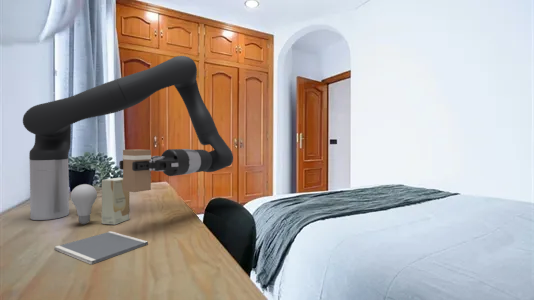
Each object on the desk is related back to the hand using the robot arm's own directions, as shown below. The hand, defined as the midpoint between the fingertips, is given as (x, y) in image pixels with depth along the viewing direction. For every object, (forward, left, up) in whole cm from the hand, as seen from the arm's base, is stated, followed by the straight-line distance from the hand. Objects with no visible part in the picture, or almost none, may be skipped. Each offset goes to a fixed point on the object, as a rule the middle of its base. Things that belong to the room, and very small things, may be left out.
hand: (127, 165), depth 68 cm
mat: (+2, -7, -17) cm, 18 cm away
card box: (0, +3, -6) cm, 7 cm away
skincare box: (-14, +6, -17) cm, 23 cm away
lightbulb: (-19, 0, -17) cm, 26 cm away
